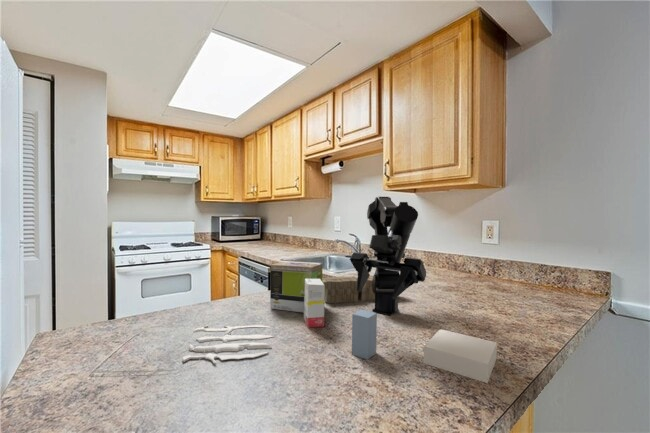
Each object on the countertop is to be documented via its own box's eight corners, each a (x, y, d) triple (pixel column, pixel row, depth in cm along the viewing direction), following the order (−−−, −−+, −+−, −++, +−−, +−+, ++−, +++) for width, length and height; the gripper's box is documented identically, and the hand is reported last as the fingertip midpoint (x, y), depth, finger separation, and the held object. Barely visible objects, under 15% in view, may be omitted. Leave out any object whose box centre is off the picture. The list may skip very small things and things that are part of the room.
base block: (423, 365, 63) (423, 346, 63) (439, 345, 72) (440, 329, 72) (487, 385, 56) (487, 364, 56) (496, 360, 65) (496, 342, 65)
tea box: (322, 305, 102) (323, 262, 101) (312, 315, 92) (312, 267, 92) (283, 300, 106) (283, 259, 106) (269, 309, 97) (269, 263, 97)
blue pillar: (351, 354, 66) (352, 313, 66) (360, 347, 70) (361, 309, 70) (367, 359, 64) (368, 317, 64) (376, 352, 67) (376, 313, 67)
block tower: (388, 296, 119) (317, 297, 111) (389, 274, 119) (318, 275, 111) (398, 301, 111) (322, 303, 104) (399, 278, 111) (323, 279, 104)
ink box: (324, 327, 82) (325, 284, 82) (306, 328, 81) (307, 284, 81) (319, 316, 90) (320, 277, 90) (303, 317, 90) (304, 278, 90)
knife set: (273, 368, 60) (273, 362, 60) (82, 378, 55) (82, 372, 55) (275, 324, 86) (275, 320, 86) (145, 328, 81) (145, 324, 81)
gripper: (353, 222, 80) (329, 269, 71) (423, 224, 69) (404, 280, 60) (367, 249, 87) (346, 294, 78) (432, 255, 76) (417, 309, 67)
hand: (375, 294), depth 71 cm, fingers open, 9 cm apart
